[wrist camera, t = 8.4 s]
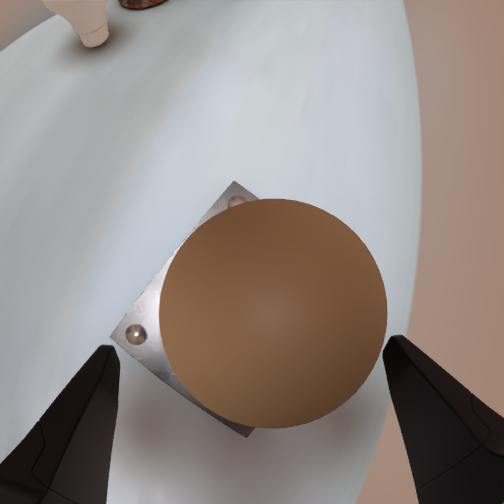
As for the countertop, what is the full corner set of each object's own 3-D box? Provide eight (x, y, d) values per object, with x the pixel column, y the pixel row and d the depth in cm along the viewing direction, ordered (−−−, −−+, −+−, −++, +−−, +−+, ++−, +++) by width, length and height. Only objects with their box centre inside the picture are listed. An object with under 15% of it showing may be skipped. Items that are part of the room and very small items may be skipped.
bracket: (245, 432, 18) (251, 454, 14) (114, 335, 18) (94, 340, 14) (355, 280, 20) (381, 274, 17) (233, 186, 20) (236, 162, 17)
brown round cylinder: (238, 365, 17) (275, 467, 5) (184, 309, 18) (111, 307, 5) (293, 312, 18) (422, 311, 6) (240, 257, 19) (280, 156, 6)
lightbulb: (59, 71, 21) (15, -17, 10) (78, 29, 22) (50, -53, 11) (121, 61, 21) (93, -42, 11) (135, 20, 23) (119, -72, 12)
